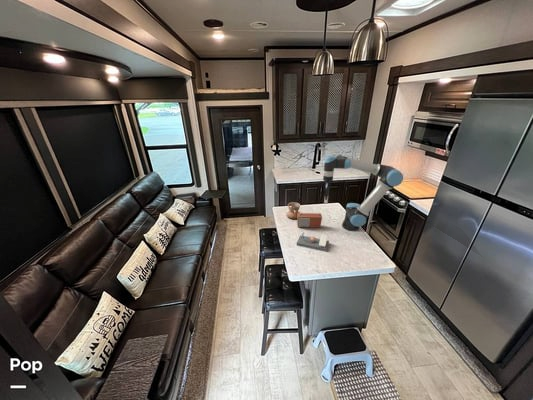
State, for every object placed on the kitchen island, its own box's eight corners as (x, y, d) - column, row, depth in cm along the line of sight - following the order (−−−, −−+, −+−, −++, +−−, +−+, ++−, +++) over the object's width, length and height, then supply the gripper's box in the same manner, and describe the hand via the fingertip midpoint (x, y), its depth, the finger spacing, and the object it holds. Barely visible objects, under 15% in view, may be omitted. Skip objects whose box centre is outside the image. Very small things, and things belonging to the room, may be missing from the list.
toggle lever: (304, 237, 179) (304, 232, 173) (304, 239, 177) (303, 234, 172) (302, 237, 180) (301, 231, 174) (301, 239, 178) (301, 233, 173)
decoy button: (315, 239, 176) (316, 237, 176) (315, 241, 173) (315, 239, 172) (311, 238, 178) (311, 236, 177) (310, 240, 174) (310, 238, 174)
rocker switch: (327, 236, 175) (327, 235, 175) (325, 247, 168) (325, 246, 167) (321, 235, 177) (321, 234, 176) (318, 245, 169) (318, 244, 169)
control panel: (319, 224, 206) (321, 211, 198) (320, 229, 200) (322, 216, 192) (297, 223, 208) (297, 211, 199) (297, 228, 202) (298, 216, 194)
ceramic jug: (285, 213, 230) (286, 201, 225) (299, 213, 230) (299, 201, 224) (287, 221, 214) (287, 208, 208) (301, 221, 213) (302, 208, 208)
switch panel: (328, 243, 178) (329, 239, 176) (326, 251, 168) (327, 247, 166) (300, 237, 186) (300, 233, 185) (296, 245, 176) (296, 240, 175)
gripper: (324, 173, 180) (322, 199, 189) (322, 177, 168) (319, 205, 178) (334, 173, 177) (331, 200, 186) (332, 178, 166) (329, 206, 175)
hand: (325, 202), depth 182 cm, fingers closed
